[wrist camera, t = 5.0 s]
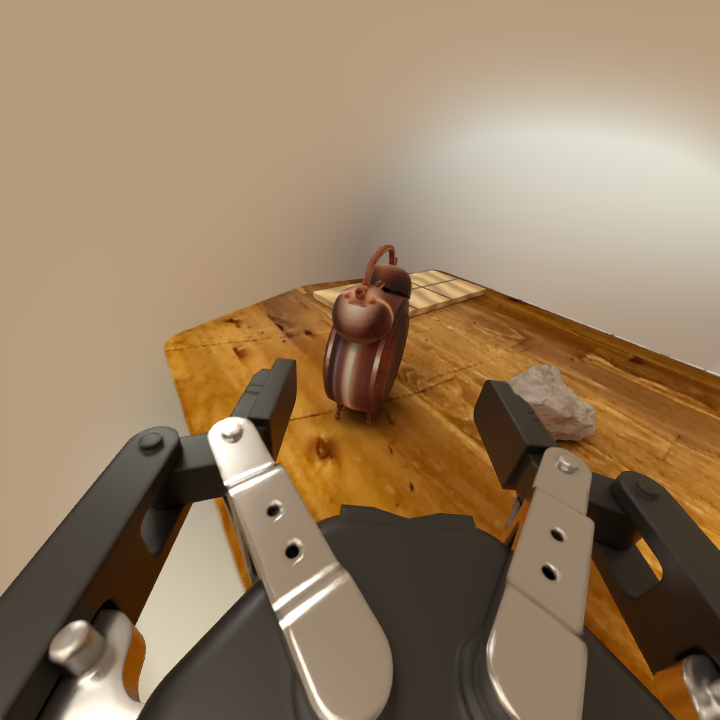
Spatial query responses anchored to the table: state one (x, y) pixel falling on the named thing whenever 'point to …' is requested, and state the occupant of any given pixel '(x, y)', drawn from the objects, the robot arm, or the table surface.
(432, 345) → the table surface
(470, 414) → the table surface
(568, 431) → the stone
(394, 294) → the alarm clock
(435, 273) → the board
